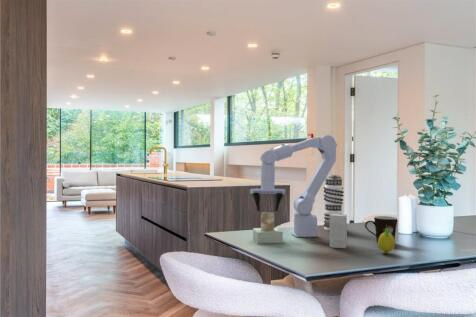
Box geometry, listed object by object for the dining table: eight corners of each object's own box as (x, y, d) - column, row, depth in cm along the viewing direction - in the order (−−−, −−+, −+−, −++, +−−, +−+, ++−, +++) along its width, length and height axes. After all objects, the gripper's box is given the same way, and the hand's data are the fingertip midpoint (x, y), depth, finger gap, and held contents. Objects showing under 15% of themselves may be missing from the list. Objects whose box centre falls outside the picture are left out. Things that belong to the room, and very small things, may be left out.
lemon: (388, 256, 141) (388, 227, 141) (373, 253, 146) (373, 224, 146) (399, 254, 145) (400, 225, 145) (384, 250, 150) (385, 223, 150)
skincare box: (346, 246, 157) (347, 214, 157) (345, 248, 153) (346, 216, 153) (330, 245, 159) (330, 213, 159) (329, 247, 155) (329, 215, 155)
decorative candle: (322, 226, 200) (323, 174, 200) (342, 227, 199) (342, 175, 199) (323, 230, 191) (324, 175, 191) (344, 230, 190) (345, 175, 190)
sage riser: (276, 237, 172) (277, 227, 172) (282, 242, 162) (282, 232, 162) (252, 237, 171) (253, 228, 171) (257, 243, 161) (257, 232, 161)
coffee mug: (397, 242, 166) (398, 217, 166) (396, 246, 158) (396, 219, 158) (367, 239, 171) (367, 215, 171) (364, 243, 163) (364, 217, 163)
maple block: (274, 230, 167) (274, 212, 167) (269, 231, 164) (270, 213, 164) (265, 229, 169) (265, 211, 169) (260, 230, 166) (261, 212, 166)
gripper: (282, 178, 181) (281, 209, 181) (249, 178, 180) (248, 209, 180) (286, 179, 174) (285, 211, 174) (252, 178, 173) (251, 211, 173)
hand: (267, 210), depth 177 cm, fingers open, 7 cm apart
